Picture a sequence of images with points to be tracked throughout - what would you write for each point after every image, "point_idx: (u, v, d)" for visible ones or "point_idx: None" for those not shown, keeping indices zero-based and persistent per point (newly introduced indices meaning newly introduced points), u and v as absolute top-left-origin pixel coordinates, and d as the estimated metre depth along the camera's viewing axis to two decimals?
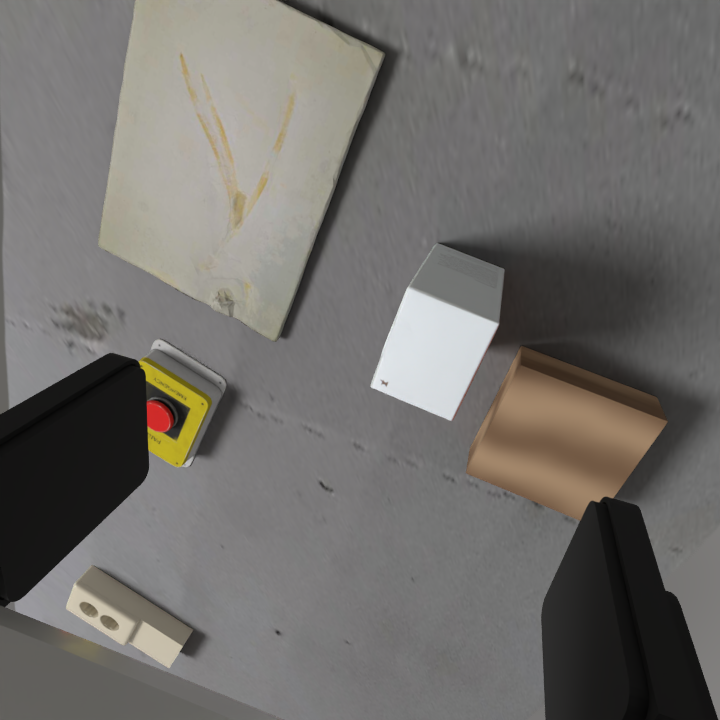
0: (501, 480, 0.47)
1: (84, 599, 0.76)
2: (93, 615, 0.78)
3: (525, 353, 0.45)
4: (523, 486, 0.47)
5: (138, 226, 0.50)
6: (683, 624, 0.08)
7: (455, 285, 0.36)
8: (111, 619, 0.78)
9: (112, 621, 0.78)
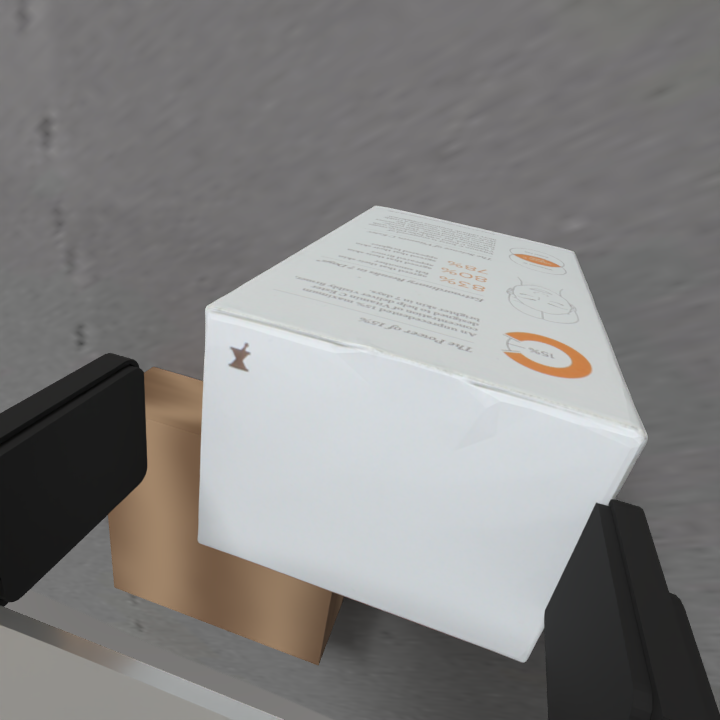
0: None
1: None
2: None
3: None
4: None
5: None
6: (687, 626, 0.08)
7: None
8: None
9: None
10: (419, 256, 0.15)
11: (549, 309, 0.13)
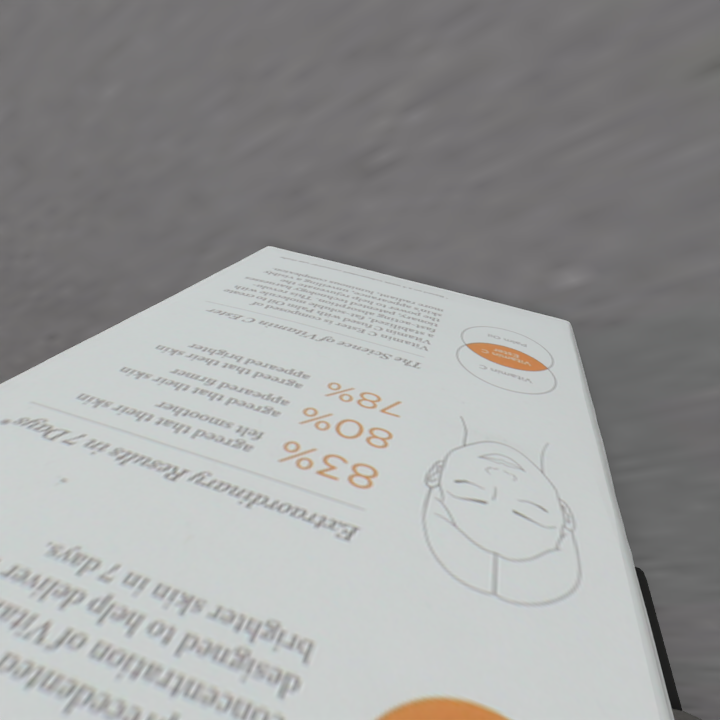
0: None
1: None
2: None
3: None
4: None
5: None
6: (648, 596, 0.08)
7: None
8: None
9: None
10: (271, 377, 0.08)
11: (516, 537, 0.06)
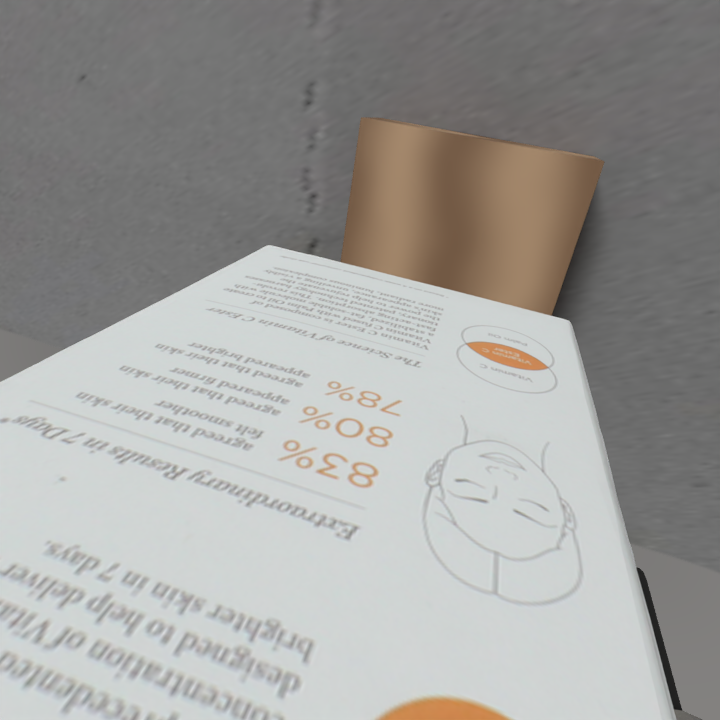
0: (365, 183, 0.28)
1: None
2: None
3: None
4: (365, 220, 0.29)
5: None
6: (648, 596, 0.08)
7: None
8: None
9: None
10: (271, 376, 0.08)
11: (517, 536, 0.06)
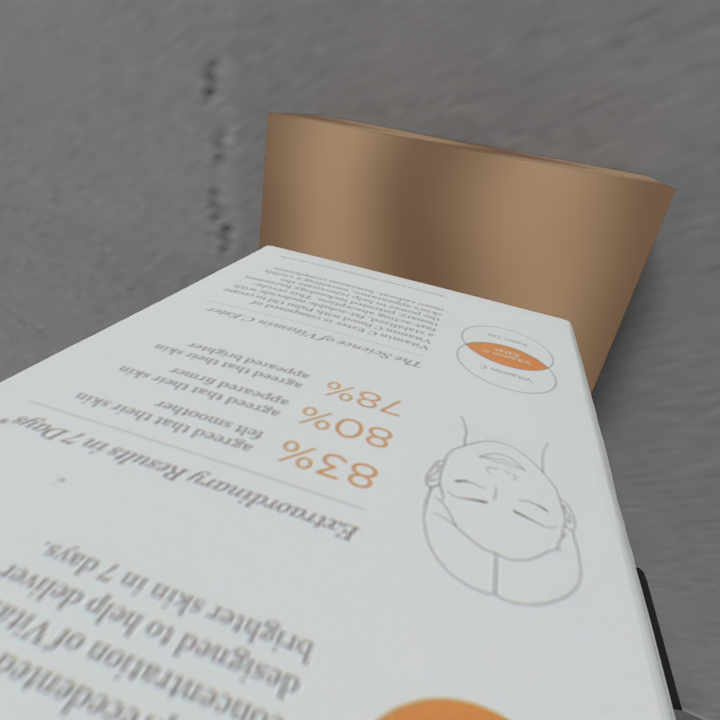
0: (282, 217, 0.18)
1: None
2: None
3: None
4: None
5: None
6: (648, 596, 0.08)
7: None
8: None
9: None
10: (271, 376, 0.08)
11: (517, 536, 0.06)
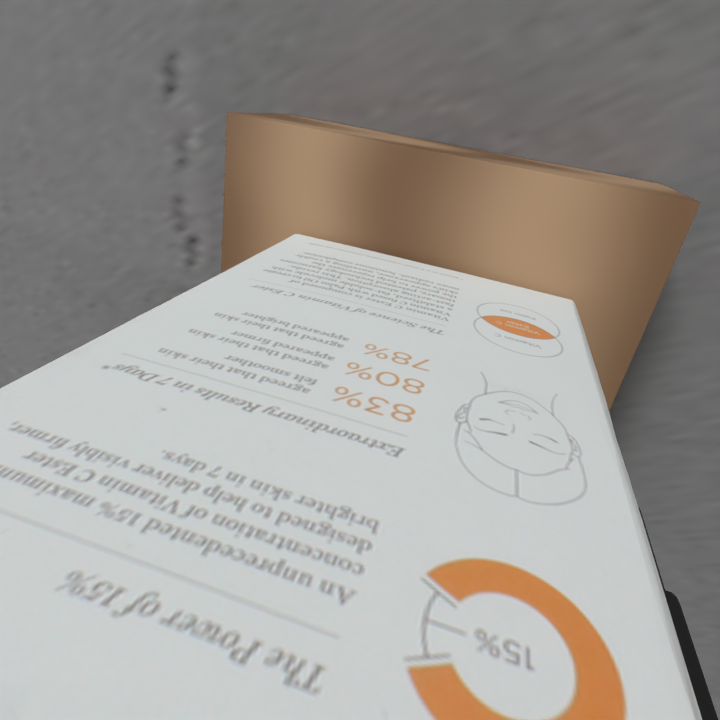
0: (246, 232, 0.15)
1: None
2: None
3: None
4: None
5: None
6: (682, 623, 0.08)
7: None
8: None
9: None
10: (316, 338, 0.09)
11: (532, 459, 0.07)
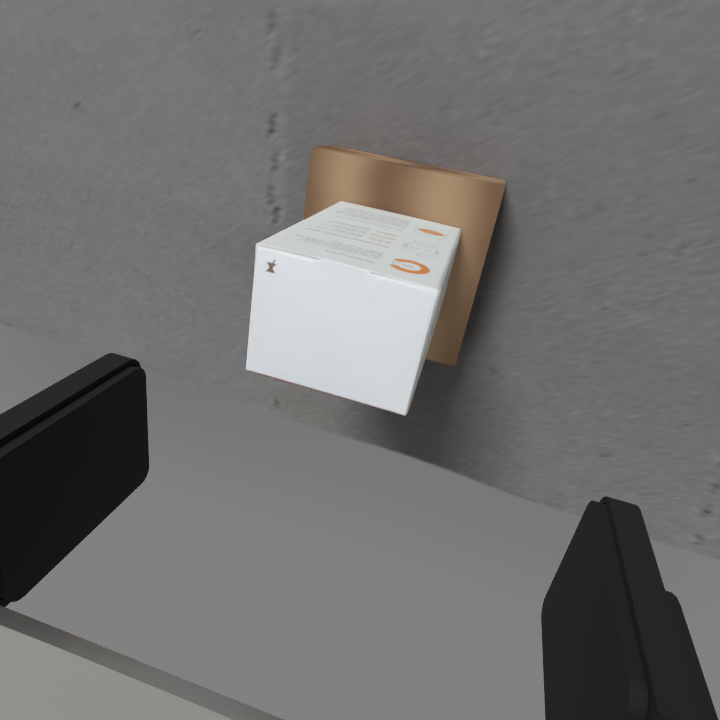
0: (317, 200, 0.34)
1: None
2: None
3: None
4: None
5: None
6: (682, 623, 0.08)
7: None
8: None
9: None
10: (360, 228, 0.27)
11: (423, 252, 0.25)
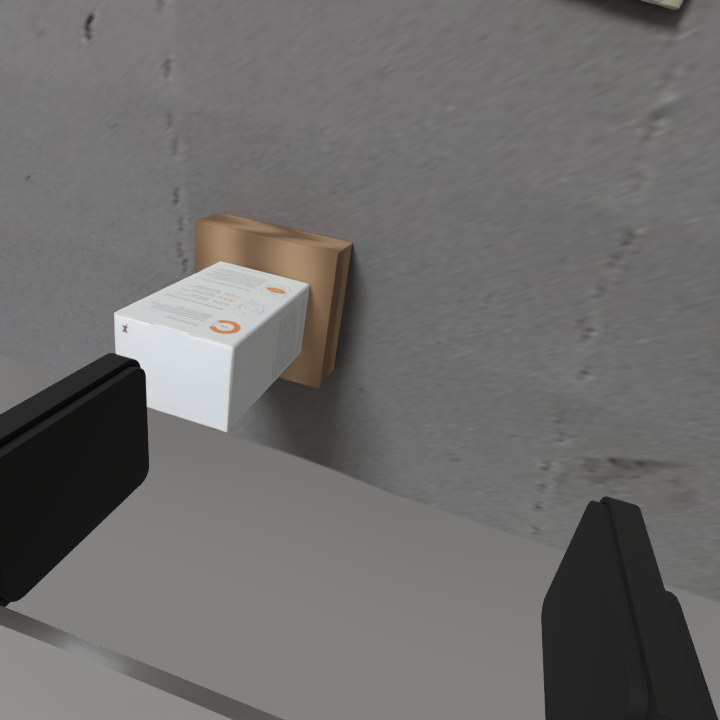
0: (203, 260, 0.43)
1: None
2: None
3: (347, 251, 0.42)
4: None
5: None
6: (683, 624, 0.08)
7: (258, 362, 0.35)
8: None
9: None
10: (213, 291, 0.37)
11: (250, 312, 0.35)
